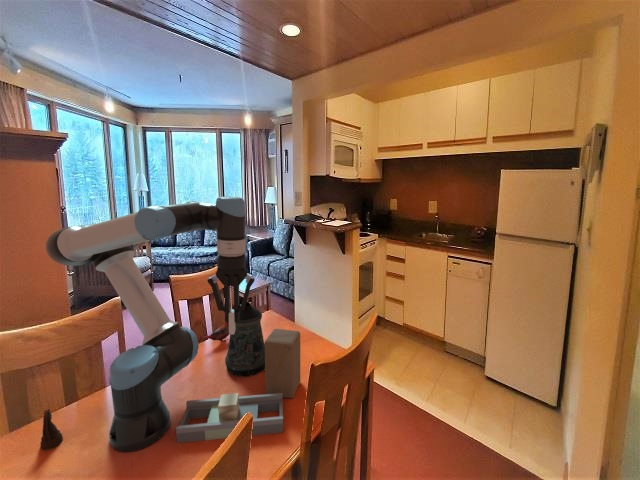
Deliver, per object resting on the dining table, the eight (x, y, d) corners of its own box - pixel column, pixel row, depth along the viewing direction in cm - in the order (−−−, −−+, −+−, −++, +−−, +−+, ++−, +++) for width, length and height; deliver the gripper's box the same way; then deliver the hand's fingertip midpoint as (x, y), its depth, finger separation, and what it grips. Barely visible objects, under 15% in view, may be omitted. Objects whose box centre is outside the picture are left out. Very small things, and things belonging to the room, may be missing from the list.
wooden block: (293, 400, 102) (292, 344, 98) (264, 395, 103) (263, 341, 100) (301, 381, 111) (301, 330, 107) (274, 377, 113) (273, 327, 109)
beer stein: (253, 382, 110) (251, 317, 106) (210, 369, 117) (206, 308, 113) (276, 358, 125) (275, 300, 121) (236, 348, 133) (234, 293, 128)
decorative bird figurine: (238, 337, 142) (237, 317, 140) (202, 353, 129) (200, 330, 127) (234, 335, 144) (233, 315, 142) (198, 350, 130) (197, 328, 129)
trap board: (177, 442, 84) (175, 428, 84) (188, 413, 95) (187, 400, 94) (283, 432, 88) (283, 418, 88) (282, 405, 99) (282, 392, 98)
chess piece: (64, 433, 87) (59, 402, 85) (61, 446, 83) (55, 414, 81) (42, 440, 85) (36, 408, 83) (38, 454, 80) (32, 421, 79)
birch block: (219, 421, 88) (218, 406, 87) (222, 409, 93) (221, 394, 92) (237, 420, 89) (236, 404, 88) (239, 407, 94) (238, 393, 93)
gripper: (203, 256, 80) (206, 339, 85) (254, 257, 82) (254, 338, 87) (209, 249, 88) (211, 326, 92) (256, 250, 89) (255, 325, 94)
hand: (232, 332), depth 89 cm, fingers closed
